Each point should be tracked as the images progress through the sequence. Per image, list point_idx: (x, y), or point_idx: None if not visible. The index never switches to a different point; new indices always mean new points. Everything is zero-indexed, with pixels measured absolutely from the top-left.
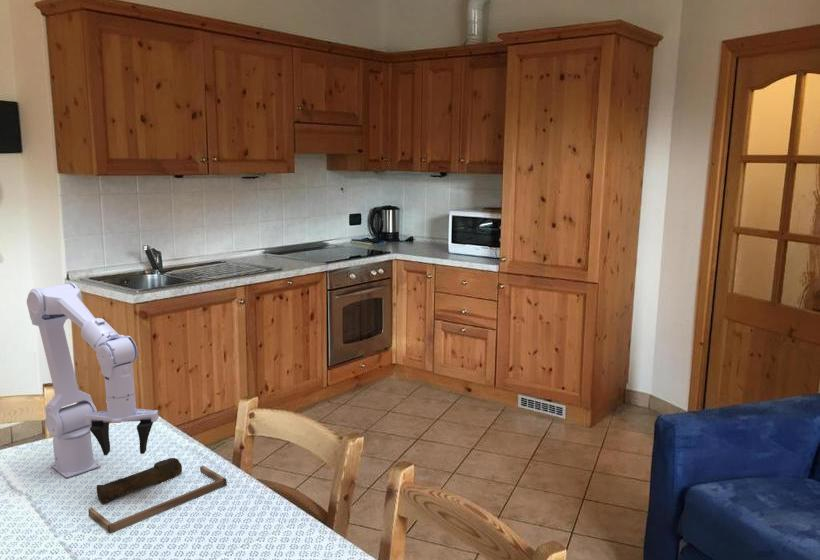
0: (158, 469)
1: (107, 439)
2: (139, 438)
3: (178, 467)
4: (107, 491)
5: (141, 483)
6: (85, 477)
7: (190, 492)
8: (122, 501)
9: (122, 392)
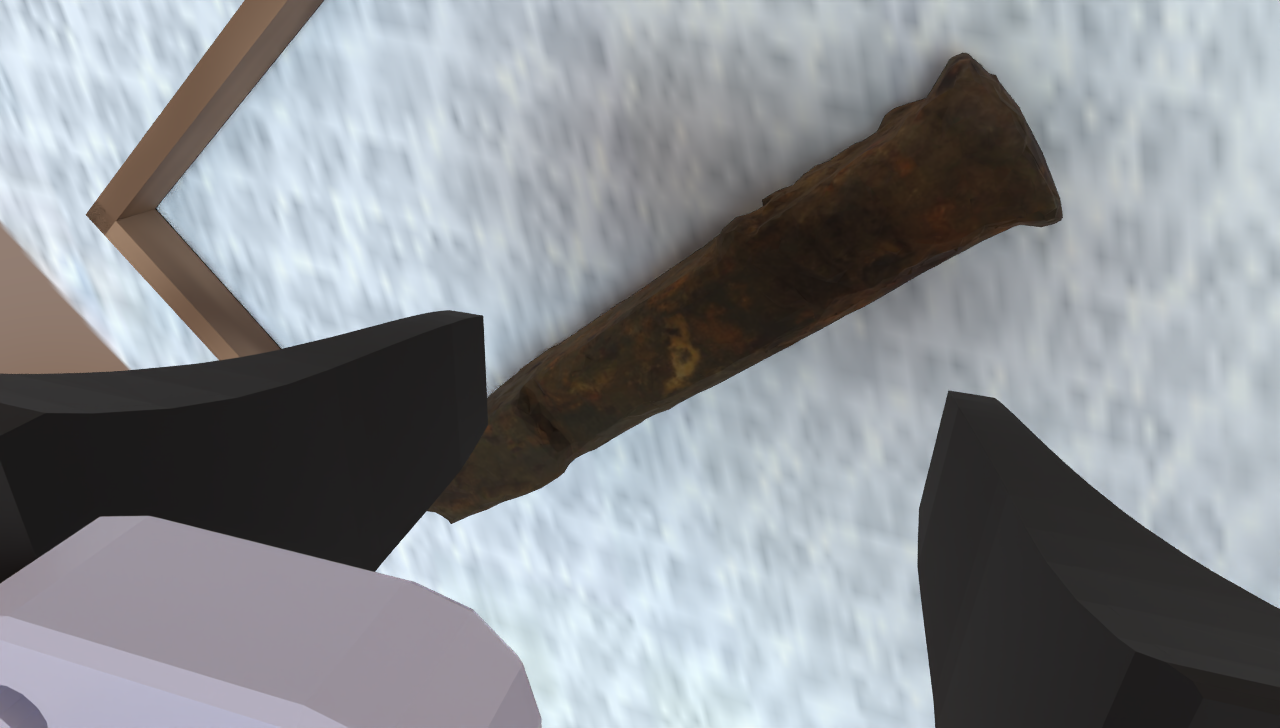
0: (525, 395)
1: (951, 625)
2: (302, 379)
3: None
4: (931, 97)
5: (659, 281)
6: None
7: (236, 35)
8: (801, 93)
9: None
